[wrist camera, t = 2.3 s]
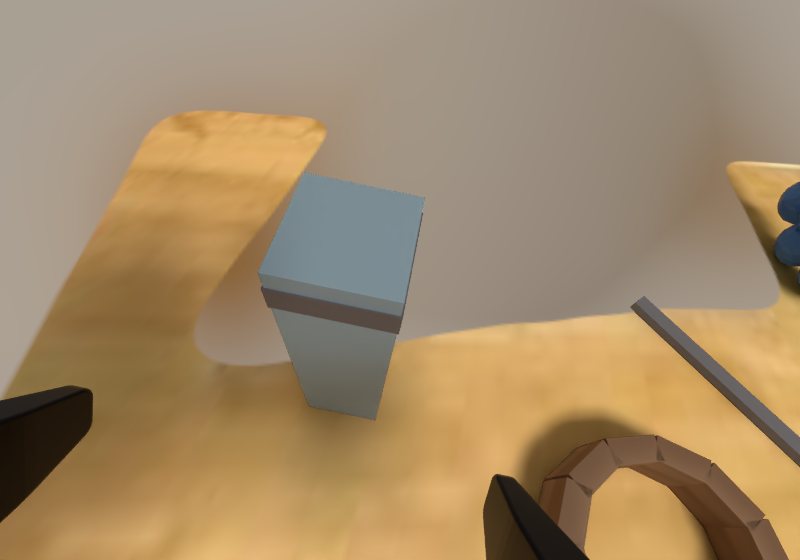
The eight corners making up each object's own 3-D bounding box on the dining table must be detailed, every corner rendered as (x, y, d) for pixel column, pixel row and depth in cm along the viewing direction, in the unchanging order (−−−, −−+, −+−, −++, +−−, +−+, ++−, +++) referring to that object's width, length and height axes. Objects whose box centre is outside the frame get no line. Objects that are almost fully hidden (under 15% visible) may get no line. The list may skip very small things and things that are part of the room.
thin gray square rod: (838, 502, 20) (850, 502, 20) (630, 307, 26) (635, 302, 25) (845, 490, 21) (857, 489, 20) (638, 300, 26) (644, 296, 26)
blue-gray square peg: (376, 421, 20) (405, 305, 9) (307, 406, 20) (254, 274, 9) (389, 356, 22) (427, 196, 11) (326, 343, 22) (303, 171, 11)
